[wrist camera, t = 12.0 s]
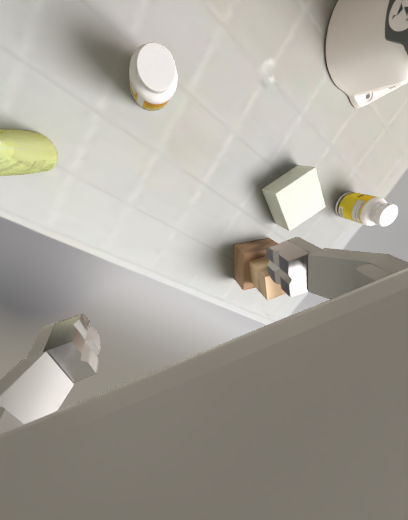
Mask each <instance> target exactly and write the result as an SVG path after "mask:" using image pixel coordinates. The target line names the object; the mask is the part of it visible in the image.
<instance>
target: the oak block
mask: <svg viewBox="0 0 408 520" xmlns="http://www.w3.org/2000/svg"><path fill="white" fill-rule="evenodd" d="M268 262H269V259H268V258H267V257H266V256H264V257H261V258H258V259H255V260H252V261H249V266H250V273H251V280H252V284H253V285H254V286H255V287H256V288H257V289H258V290H259V292H260V293H261V294H262V295H263V296H264V297H265V298H266V299H267V300H270V299H273V298H275V297H278V296H280V295H283V294H286V293H285V292H284V291H283V290H282V289H281V285H280V284H276V283H275V282H274V281H273V280H272V279H271V278H270V275H269V273H268V269H267V264H268Z"/></svg>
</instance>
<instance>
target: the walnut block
mask: <svg viewBox="0 0 408 520" xmlns="http://www.w3.org/2000/svg"><path fill="white" fill-rule="evenodd" d="M277 244H278V243H276V242H275V241H273V240H271V239H270V238H269V239H263V240H257V241H251V242H246V243H240V244H234V279H235V280H236V282H237V283H238V284H239V285H240V287H241V288H242V289H243V290H246V289H251V288H256V287H255V286H254V285H253V284H252V280H251V273H250V266H249V261H252V260H255V259H258V258H261V257H264V256H266V248H269V247H271V246H274V245H277Z"/></svg>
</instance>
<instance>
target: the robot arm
mask: <svg viewBox="0 0 408 520" xmlns="http://www.w3.org/2000/svg"><path fill="white" fill-rule="evenodd" d="M326 60H327V66H328V70H329V73H330V76H331V78H332V80H333V81H334V83H335V84H336V86H337V87H338V88H339V89H341V90H342V91H343V92H345V93H346V94H347V95H348V96H349V99H350V101H351V103H352V105H353V106H354V107H355V108H360V107H363V106H365V105H367V104H369V103H371V102H372V101H374V100H376V99H378V98H380V97H382V96H384V95H385V94H387V93H389V92H391V91H393V90H395V89H396V88H398V87H400V86H402V85H404V84H406V83H408V0H338V2H337V4H336V6H335V8H334V11H333V13H332V16H331V19H330V23H329V27H328V31H327V38H326ZM266 257H267V258H268V259H269V262H268V264H267V269H268V273H269V275H270V278H271V279H272V280H273V281H274V282H275V283H276V284H280V285H281V289H282V290H283V291H284V292H285V293H286V294H287V295H288V296H290V297H292V296H295V295H297V294H300V293H303V292H306V291H308V292H311V293H314V294H317V295H319V296H322V297H325V298H328V299H330V300H328V301H325V302H323V303H321V304H318V305H316V306H313V307H311V308H308V309H306V310H304V311H301V312H298V313H296V314H294V315H291V316H289V317H286V318H284V319H281V320H279V321H276V322H274V323H271V324H269V325H267V326H264V327H262V328H259V329H257V330H255V331H252V332H249V333H247V334H245V335H242V336H240V337H237V338H235V339H232V340H230V341H228V342H225V343H223V344H220V345H218V346H215V347H213V348H211V349H208V350H206V351H203V352H200V353H198V354H196V355H193V356H191V357H188V358H186V359H183V360H181V361H178V362H176V363H173V364H171V365H169V366H166V367H164V368H161V369H159V370H156V371H154V372H151V373H149V374H146V375H144V376H142V377H139V378H137V379H134V380H132V381H129V382H127V383H125V384H122V385H120V386H117V387H115V388H112V389H110V390H107V391H105V392H102V393H100V394H98V395H95V396H93V397H90V398H88V399H85V400H83V401H81V402H78V403H75V404H73V405H70V406H68V407H66V408H63V409H61V410H58V408H59V407H60V405H61V404H62V402H63V400H64V399H65V397H66V396H67V394H68V393H69V391H70V390H71V388H72V386H73V385H74V384H73V383H76V382H78V381H80V380H83V379H85V378H87V377H90V376H92V375H94V374H96V373H97V366H98V360H99V359H98V358H97V356H96V355H97V354H98V352H99V351H100V345H101V344H100V338H99V335H98V333H97V331H96V330H95V329H94V328H92V327H90V326H89V322H90V320H89V319H88V318H87V316H86V315H85V314H80V315H77V316H74V317H71V318H68V319H65V320H62V321H59V322H55V323H53V324H50V325H47V326H45V327H43V328H41V330H40V332H39V334H38V336H37V338H36V340H35V342H34V344H33V346H32V348H31V350H30V352H29V354H28V356H27V358H26V359H24V360H22V361H20V362H19V363H18V364H17V365H16V366H15V367H14V368H13V369H12V370H11V371H9V372H8V373H7V374H6V375H5V376H4V377H3V378H2V379H1V380H0V520H408V262H406V261H403V260H401V259H399V258H396V257H394V256H392V255H389V254H380V253H370V252H360V251H349V250H339V249H329V248H324V249H320V248H319V247H317V246H315V245H313V244H311V243H309V242H307V241H305V240H303V239H301V238H300V237H294V238H292V239H289V240H287V241H284V242H282V243H279V244H277V245H274V246H271V247H269V248H266ZM57 410H58V411H57Z"/></svg>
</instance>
